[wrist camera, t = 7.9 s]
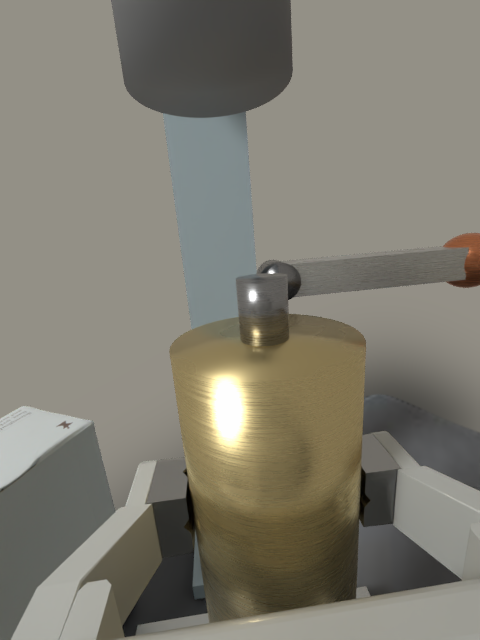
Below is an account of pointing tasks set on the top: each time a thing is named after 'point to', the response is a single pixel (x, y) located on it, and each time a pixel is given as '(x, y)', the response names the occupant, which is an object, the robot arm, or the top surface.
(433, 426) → the top surface
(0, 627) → the skincare box
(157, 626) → the press bed
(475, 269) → the lever
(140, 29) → the frame
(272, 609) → the cylinder
